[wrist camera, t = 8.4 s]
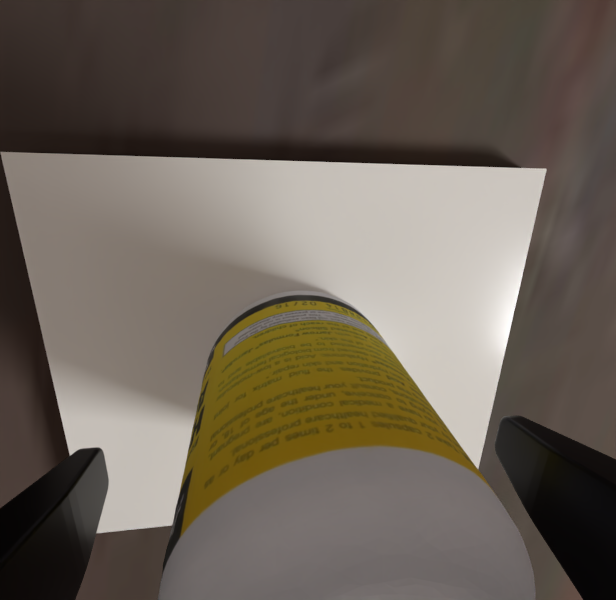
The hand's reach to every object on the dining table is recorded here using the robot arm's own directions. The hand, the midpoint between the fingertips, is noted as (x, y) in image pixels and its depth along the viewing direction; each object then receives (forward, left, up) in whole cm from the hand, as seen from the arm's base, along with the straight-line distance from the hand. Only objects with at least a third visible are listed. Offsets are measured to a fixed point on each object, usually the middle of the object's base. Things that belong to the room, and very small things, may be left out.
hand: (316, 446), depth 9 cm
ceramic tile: (0, 0, -4) cm, 4 cm away
